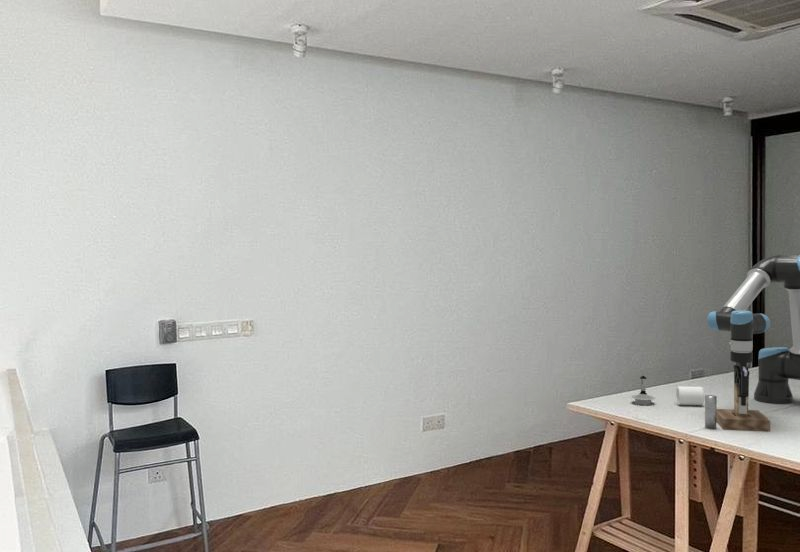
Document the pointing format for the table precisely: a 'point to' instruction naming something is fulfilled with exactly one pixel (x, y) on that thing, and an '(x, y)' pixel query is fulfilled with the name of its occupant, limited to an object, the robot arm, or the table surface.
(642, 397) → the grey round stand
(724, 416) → the bore block
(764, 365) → the robot arm
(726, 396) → the table surface
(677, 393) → the mug
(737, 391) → the square bit
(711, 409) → the round bit
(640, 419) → the table surface
